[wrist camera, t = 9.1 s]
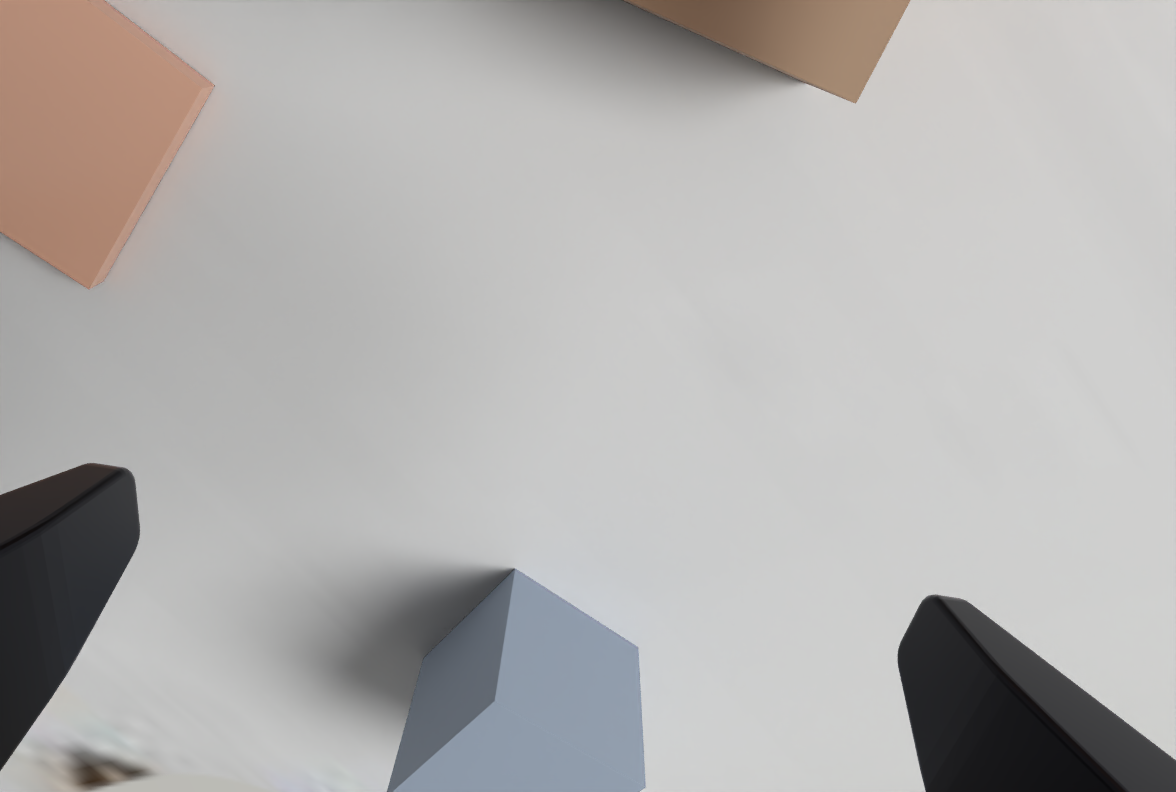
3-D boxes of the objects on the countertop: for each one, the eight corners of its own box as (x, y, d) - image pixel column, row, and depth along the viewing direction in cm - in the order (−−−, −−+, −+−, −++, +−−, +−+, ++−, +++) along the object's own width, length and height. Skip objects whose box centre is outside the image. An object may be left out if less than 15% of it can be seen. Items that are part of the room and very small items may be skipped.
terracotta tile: (-145, 118, 17) (-169, 121, 17) (-57, -124, 15) (-82, -128, 15) (103, 281, 19) (88, 289, 19) (214, 85, 17) (202, 88, 16)
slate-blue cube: (424, 656, 25) (385, 798, 21) (515, 567, 23) (494, 700, 19) (542, 724, 26) (530, 870, 22) (637, 645, 25) (645, 787, 20)
